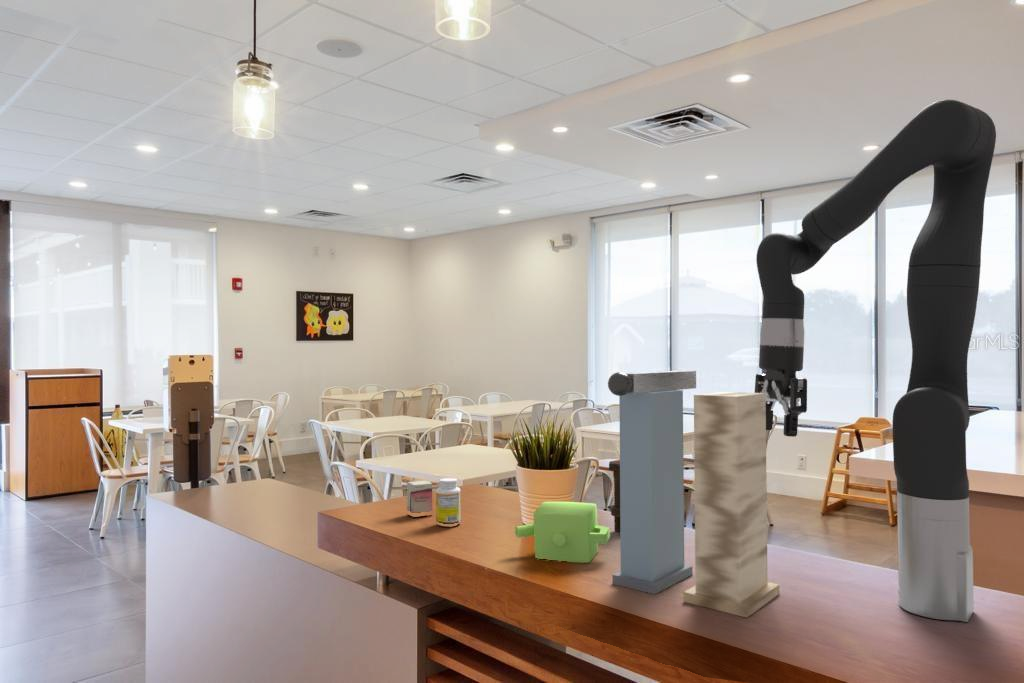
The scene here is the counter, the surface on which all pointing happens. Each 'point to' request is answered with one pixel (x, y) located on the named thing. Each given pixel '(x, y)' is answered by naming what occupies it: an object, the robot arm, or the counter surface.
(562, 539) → the gearbox
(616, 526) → the bolt
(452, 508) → the supplement bottle
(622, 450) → the post
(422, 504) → the small box
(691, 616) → the counter surface
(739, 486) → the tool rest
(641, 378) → the lever bar
